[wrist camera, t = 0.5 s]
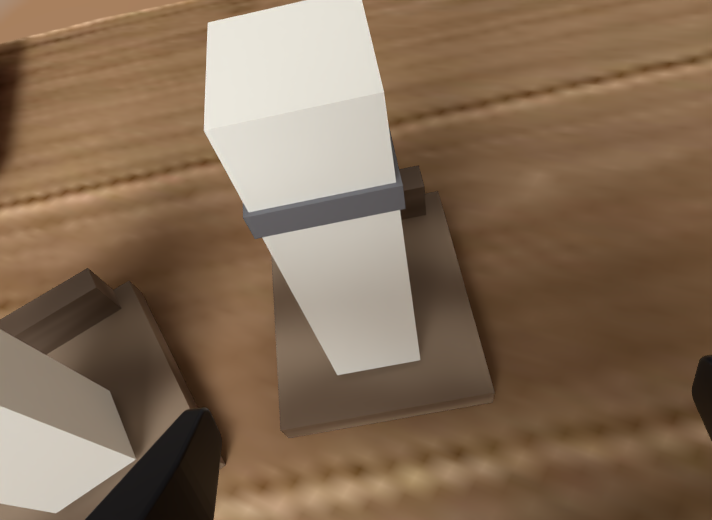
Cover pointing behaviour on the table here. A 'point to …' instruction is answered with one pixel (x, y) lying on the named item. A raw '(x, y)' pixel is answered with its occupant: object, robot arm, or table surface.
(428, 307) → the base
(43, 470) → the post
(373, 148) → the post
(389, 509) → the table surface
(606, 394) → the table surface
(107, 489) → the base
